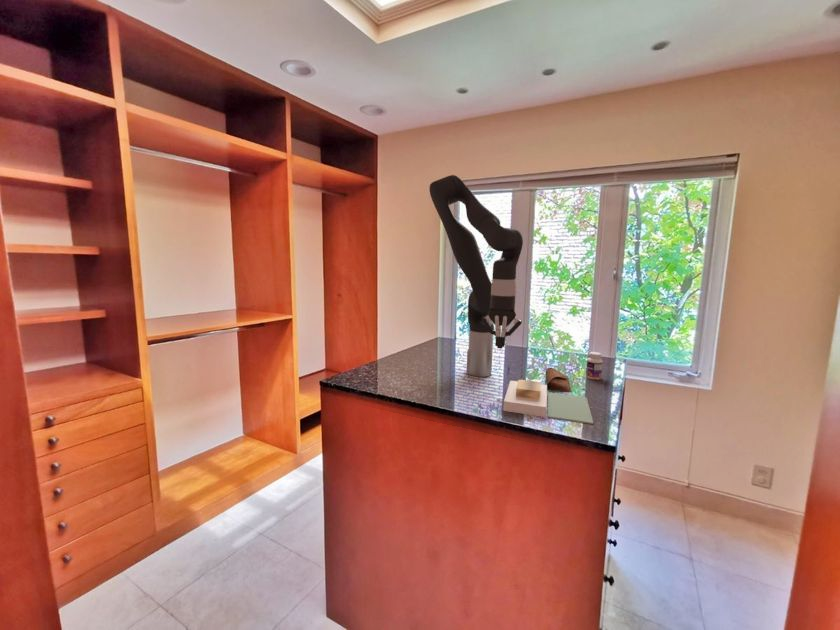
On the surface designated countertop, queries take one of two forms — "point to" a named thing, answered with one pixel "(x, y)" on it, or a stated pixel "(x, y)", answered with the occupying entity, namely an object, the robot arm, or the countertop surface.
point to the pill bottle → (594, 366)
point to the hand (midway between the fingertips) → (500, 347)
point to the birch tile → (528, 389)
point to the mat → (569, 408)
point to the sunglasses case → (557, 381)
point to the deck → (525, 401)
